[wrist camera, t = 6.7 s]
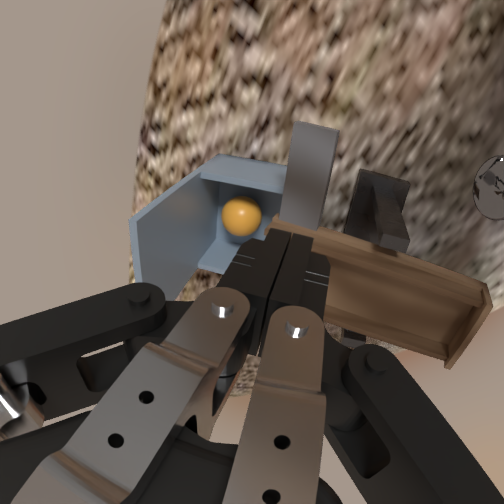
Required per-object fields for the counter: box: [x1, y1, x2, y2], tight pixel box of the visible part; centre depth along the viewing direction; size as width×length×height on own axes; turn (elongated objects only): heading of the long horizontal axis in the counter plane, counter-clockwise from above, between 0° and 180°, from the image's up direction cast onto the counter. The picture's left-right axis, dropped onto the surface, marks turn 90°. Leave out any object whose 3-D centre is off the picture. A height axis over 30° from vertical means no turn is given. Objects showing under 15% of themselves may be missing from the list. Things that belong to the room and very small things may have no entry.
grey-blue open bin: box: [129, 154, 287, 301], centre depth 28 cm, size 10×10×16 cm
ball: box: [221, 196, 262, 236], centre depth 32 cm, size 4×4×4 cm
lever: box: [264, 121, 493, 369], centre depth 22 cm, size 14×18×3 cm
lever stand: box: [341, 169, 410, 348], centre depth 28 cm, size 13×5×11 cm, turn 173°
